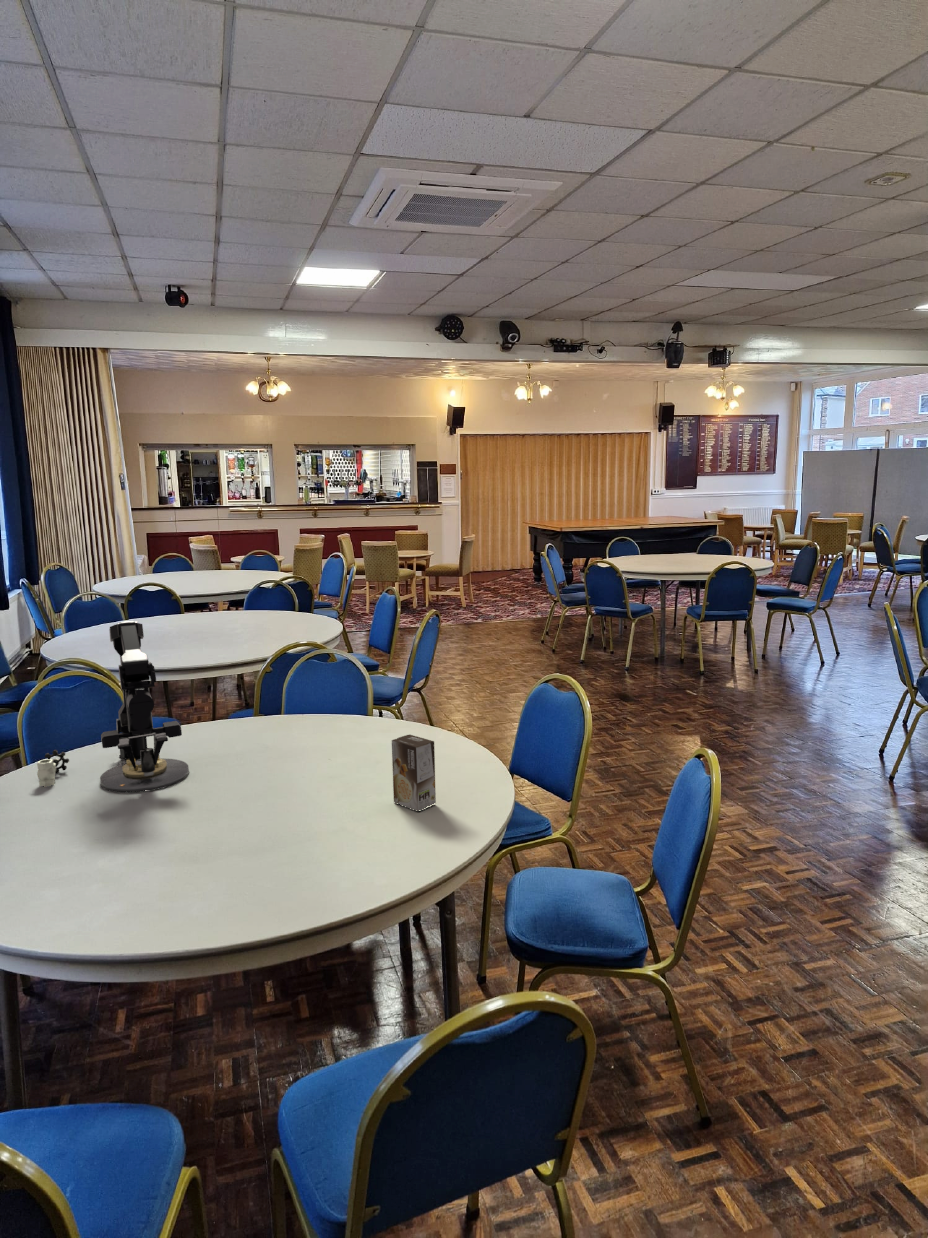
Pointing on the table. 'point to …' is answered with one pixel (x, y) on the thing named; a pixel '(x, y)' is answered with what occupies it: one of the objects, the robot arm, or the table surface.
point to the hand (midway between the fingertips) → (145, 766)
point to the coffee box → (413, 772)
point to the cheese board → (144, 765)
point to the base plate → (144, 778)
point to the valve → (50, 768)
